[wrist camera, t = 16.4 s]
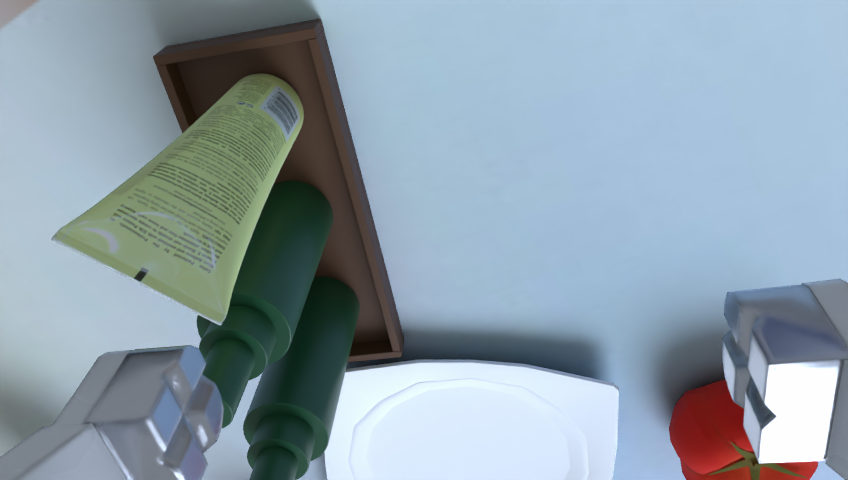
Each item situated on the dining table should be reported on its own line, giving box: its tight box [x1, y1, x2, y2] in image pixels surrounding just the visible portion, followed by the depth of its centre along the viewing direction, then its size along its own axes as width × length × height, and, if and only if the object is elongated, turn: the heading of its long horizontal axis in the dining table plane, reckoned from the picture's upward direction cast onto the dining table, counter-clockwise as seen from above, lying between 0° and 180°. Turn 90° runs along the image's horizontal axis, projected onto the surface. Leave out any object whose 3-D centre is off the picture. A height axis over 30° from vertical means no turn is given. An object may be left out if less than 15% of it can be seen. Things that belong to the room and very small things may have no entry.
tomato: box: [669, 380, 818, 480], centre depth 54 cm, size 10×11×6 cm
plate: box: [325, 360, 619, 480], centre depth 61 cm, size 24×24×3 cm
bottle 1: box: [197, 181, 333, 428], centre depth 41 cm, size 5×5×19 cm
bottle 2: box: [243, 277, 360, 480], centre depth 45 cm, size 5×5×19 cm
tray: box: [153, 19, 404, 362], centre depth 49 cm, size 25×10×2 cm, turn 11°
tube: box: [51, 73, 304, 325], centre depth 37 cm, size 6×5×20 cm
